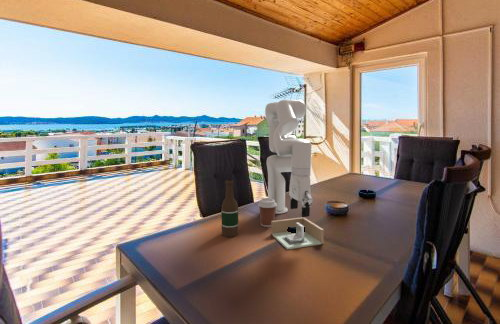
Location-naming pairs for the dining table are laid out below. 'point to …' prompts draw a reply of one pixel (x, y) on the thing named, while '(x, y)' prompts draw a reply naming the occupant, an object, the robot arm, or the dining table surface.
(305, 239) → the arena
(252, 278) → the dining table surface
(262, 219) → the coffee cup
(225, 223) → the beer bottle
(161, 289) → the dining table surface
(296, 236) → the bracket
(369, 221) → the dining table surface
